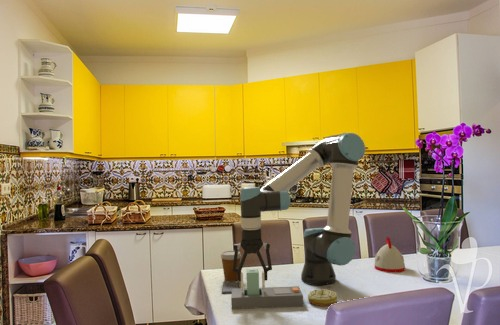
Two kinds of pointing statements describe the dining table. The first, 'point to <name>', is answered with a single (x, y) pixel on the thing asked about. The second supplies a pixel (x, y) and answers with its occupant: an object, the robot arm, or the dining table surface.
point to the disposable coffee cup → (230, 265)
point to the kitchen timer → (389, 259)
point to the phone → (229, 287)
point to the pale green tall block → (252, 282)
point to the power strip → (267, 298)
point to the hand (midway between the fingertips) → (252, 289)
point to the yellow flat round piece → (322, 297)
